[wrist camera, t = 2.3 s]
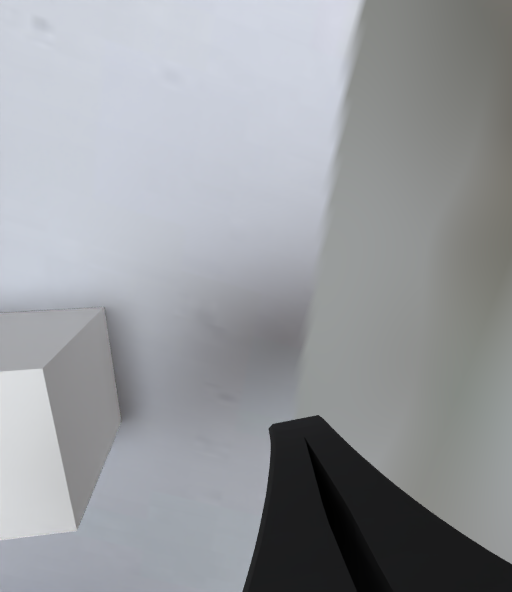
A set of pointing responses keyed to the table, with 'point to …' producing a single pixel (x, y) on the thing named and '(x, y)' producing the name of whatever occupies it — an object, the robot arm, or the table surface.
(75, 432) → the white cube
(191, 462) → the table surface
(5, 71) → the table surface
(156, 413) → the table surface
